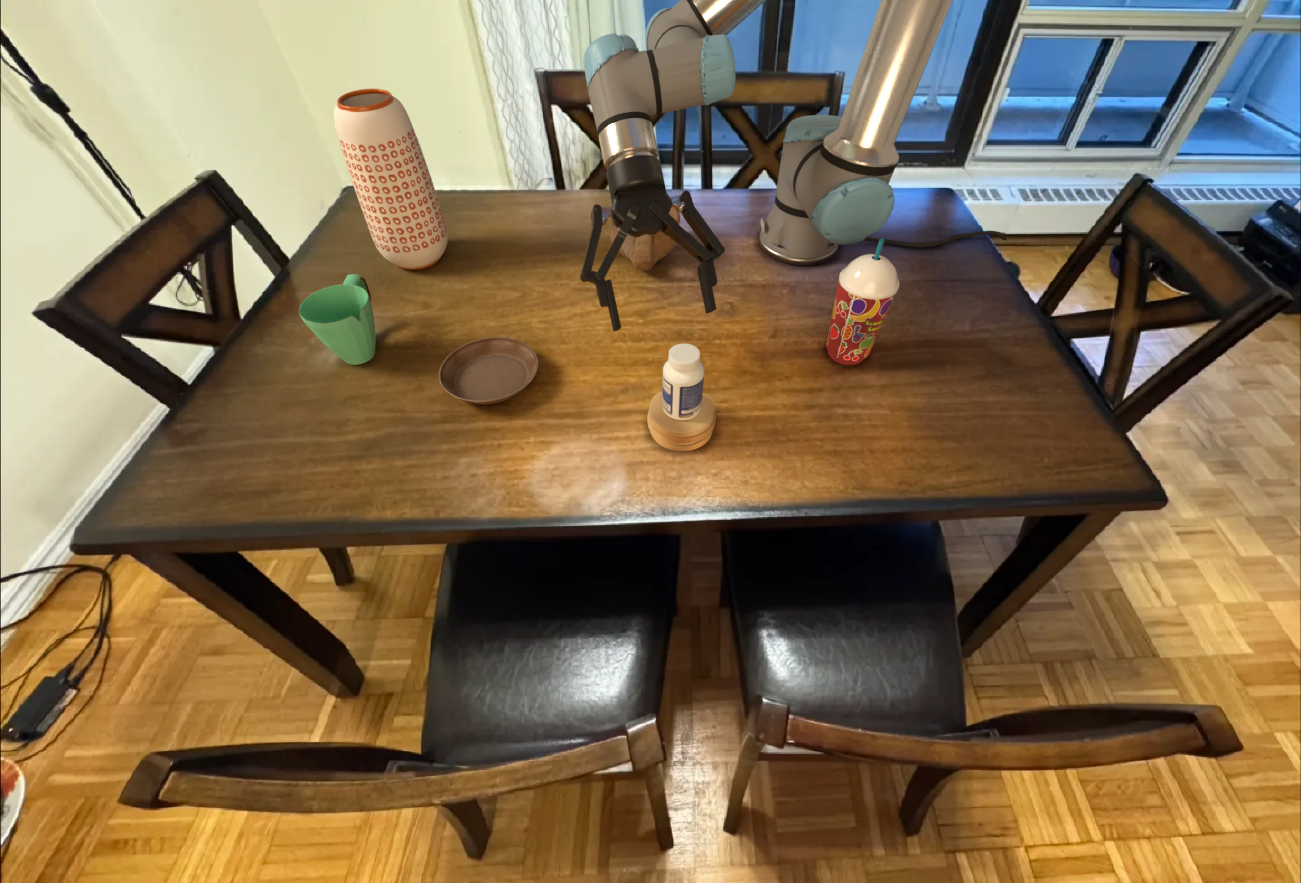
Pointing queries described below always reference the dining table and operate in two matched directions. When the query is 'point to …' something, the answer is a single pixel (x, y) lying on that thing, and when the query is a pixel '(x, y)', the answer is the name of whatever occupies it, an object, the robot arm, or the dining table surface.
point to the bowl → (645, 245)
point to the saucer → (488, 370)
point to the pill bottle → (683, 382)
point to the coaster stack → (681, 426)
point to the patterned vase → (391, 178)
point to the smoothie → (861, 306)
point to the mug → (343, 319)
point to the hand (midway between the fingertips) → (665, 320)
